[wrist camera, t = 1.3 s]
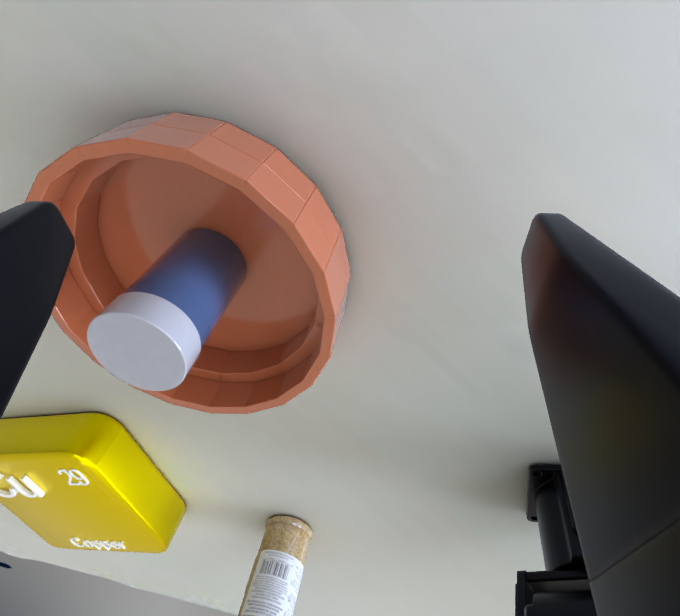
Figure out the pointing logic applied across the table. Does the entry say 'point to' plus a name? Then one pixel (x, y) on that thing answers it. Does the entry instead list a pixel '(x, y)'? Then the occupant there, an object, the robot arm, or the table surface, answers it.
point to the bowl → (215, 214)
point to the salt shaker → (168, 311)
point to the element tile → (86, 484)
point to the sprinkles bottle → (277, 569)
